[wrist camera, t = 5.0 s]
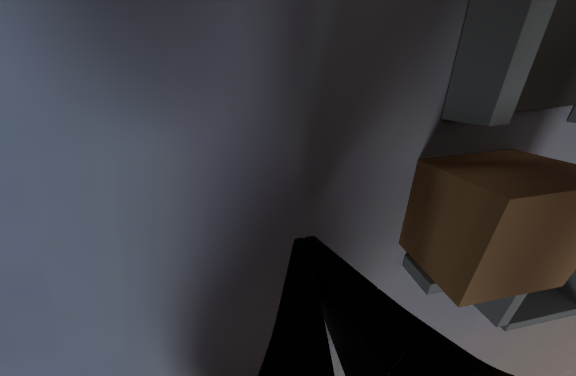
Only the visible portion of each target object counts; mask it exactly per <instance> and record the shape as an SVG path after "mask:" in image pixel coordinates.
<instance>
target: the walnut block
mask: <svg viewBox="0 0 576 376" xmlns="http://www.w3.org/2000/svg"><path fill="white" fill-rule="evenodd" d="M399 244H400V245H401V246H402V247H403V249H404V250H405V251H406V252H407V253H408V254H409V255H410V256H411V257H412V258H413V259H414V260H415V261H416V262H417V263H418V265H419V266H420V267H421V268H422V269H423V270H424V271H425V272H426V273H427V274H428V275H429V276H430V277H431V278H432V280H433V281H434V282H435V283H436V284H437V285H438V286H439V287H440V288H441V289H442V290H443V291H444V292H445V293H446V295H447V296H448V297H449V298H450V299H451V300H452V301H453V302H454V303H455V304H456V305H457V306H458V307H462V306H467V305H472V304H477V303H482V302H487V301H492V300H497V299H502V298H507V297H512V296H517V295H522V294H527V293H532V292H537V291H542V290H547V289H552V288H557V287H562V286H563V285H564V284H565V283H566V281H567V280H568V279H569V277H570V276H571V275H572V274H573V272H574V271H575V270H576V164H573V163H568V162H564V161H560V160H556V159H552V158H547V157H543V156H539V155H535V154H531V153H526V152H522V151H518V150H514V149H508V150H499V151H490V152H481V153H472V154H463V155H454V156H445V157H436V158H427V159H418V162H417V166H416V170H415V175H414V179H413V183H412V188H411V192H410V196H409V201H408V205H407V209H406V214H405V218H404V222H403V227H402V231H401V235H400V240H399Z"/></svg>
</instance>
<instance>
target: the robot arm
mask: <svg viewBox="0 0 576 376" xmlns="http://www.w3.org/2000/svg"><path fill="white" fill-rule="evenodd" d="M324 320H325V322H326V325H327V328H328V330H329V333H330V336H331V339H332V341H333V344H334V347H335V349H336V352H337V355H338V357H339V360H340V363H341V365H342V368H343V371H344V374H345V376H514V375H511V374H508V373H506V372H503V371H501V370H499V369H496V368H494V367H492V366H490V365H488V364H486V363H485V362H483V361H481V360H479V359H478V358H476V357H474V356H473V355H471V354H470V353H468V352H467V351H465V350H464V349H462V348H461V347H459V346H458V345H456V344H455V343H453V342H452V341H451V340H449V339H448V338H446V337H445V336H443V335H442V334H440V333H439V332H437V331H436V330H434V329H433V328H431V327H430V326H429V325H427V324H426V323H424V322H423V321H421V320H420V319H418V318H417V317H416V316H414V315H413V314H411V313H410V312H408V311H407V310H406V309H404V308H403V307H402V306H400V305H399V304H398V303H396V302H395V301H394V300H393V299H391V298H390V297H389V296H387V295H386V294H385V293H384V292H383V291H381V290H380V289H378V288H377V287H376V286H375V285H374V284H373V283H371V282H370V281H369V280H368V279H366V278H365V277H364V276H363V275H361V274H360V273H359V272H358V271H357V270H355V269H354V268H353V267H352V266H350V265H349V264H348V263H347V262H346V261H344V260H343V259H342V258H341V257H339V256H338V255H337V254H336V253H334V252H333V251H332V250H331V249H330V248H328V247H327V246H326V245H325V244H323V243H322V242H321V241H320V240H318V239H317V238H316V237H315V236H309V237H305V238H297V239H294V243H293V247H292V251H291V256H290V260H289V265H288V269H287V273H286V278H285V282H284V286H283V291H282V295H281V300H280V304H279V309H278V312H277V316H276V321H275V325H274V328H273V332H272V336H271V339H270V342H269V345H268V348H267V351H266V354H265V357H264V360H263V363H262V365H261V368H260V371H259V374H258V376H335V375H334V370H333V365H332V359H331V354H330V349H329V343H328V338H327V333H326V327H325V322H324Z"/></svg>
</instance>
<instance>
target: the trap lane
mask: <svg viewBox="0 0 576 376" xmlns="http://www.w3.org/2000/svg"><path fill="white" fill-rule="evenodd" d="M569 105H575V107H574V109H573V111H572V113H571V115H570V117H569V119H568V121H567V122H574V123H576V0H470V1H469V5H468V10H467V14H466V18H465V22H464V26H463V30H462V34H461V39H460V43H459V47H458V51H457V55H456V59H455V63H454V68H453V72H452V76H451V80H450V84H449V88H448V92H447V97H446V101H445V105H444V109H443V113H442V117H441V119H444V120H450V121H456V122H462V123H468V124H474V125H480V126H486V127H492V126H500V125H509V123H510V121H511V118H512V116H513V113H514V112H516V111H525V110H534V109H543V108H552V107H560V106H569ZM403 267H404V268H405V269H406V270H407V272H408V273H409V274H410V275H411V276H412V277H413V279H414V280H415V281H416V282H417V283H418V285H419V286H420V287H421V288H422V289H423V291H424V292H425V293H426V294H427V295H430V294H435V293H440V292H444V291H443V290H442V289H441V288H440V287H439V286H438V285H437V284H436V283H435V282H434V281H433V280H432V278H431V277H430V276H429V275H428V274H427V273H426V272H425V271H424V270H423V269H422V268H421V267H420V266H419V265H418V263H417V262H416V261H415V260H414V259H413V258H412V257H411V256H410V255H408V256H405V258H404V263H403ZM473 305H474V306H475V307H476V308H477V309H478V310H479V311H480V312H481V313H482V314H483V315H484V316H485V317H486V318H487V319H489V320H490V321H491V322H492V323H493V324H494V325H495V326H496V327H501V328H502V329H503V330H504V331H509V330H513V329H517V328H521V327H526V326H530V325H534V324H538V323H543V322H547V321H551V320H556V319H560V318H564V317H568V316H573V315H576V270H575V271H574V272H573V274H572V275H571V276H570V277H569V279H568V280H567V281H566V283H565V284H564V285H563V286H562V287H557V288H552V289H547V290H542V291H537V292H532V293H527V294H522V295H517V296H512V297H507V298H502V299H497V300H492V301H487V302H482V303H477V304H473Z"/></svg>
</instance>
